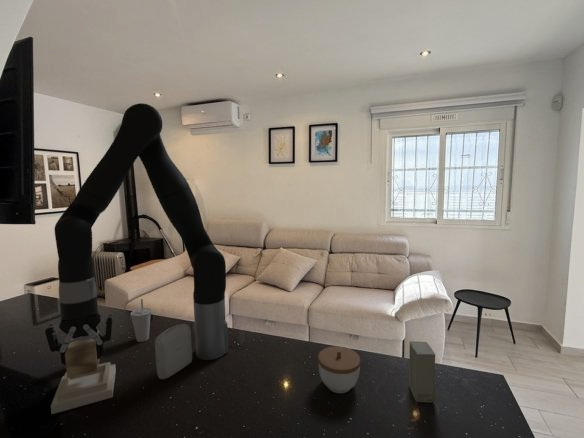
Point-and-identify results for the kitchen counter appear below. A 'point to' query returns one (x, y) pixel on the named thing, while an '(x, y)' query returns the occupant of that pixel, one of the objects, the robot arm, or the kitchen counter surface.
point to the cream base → (84, 388)
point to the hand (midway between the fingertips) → (83, 360)
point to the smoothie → (141, 322)
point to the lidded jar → (339, 368)
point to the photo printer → (173, 350)
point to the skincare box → (422, 371)
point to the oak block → (81, 357)
